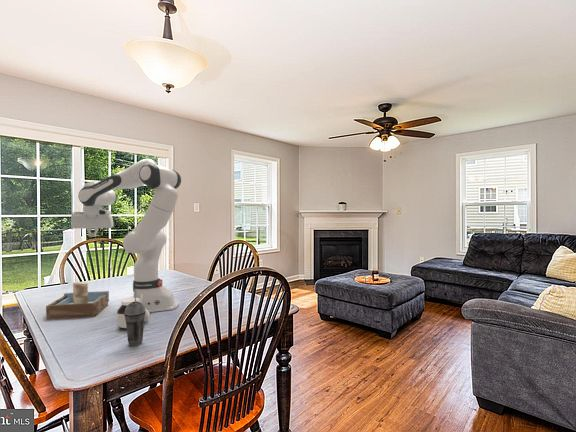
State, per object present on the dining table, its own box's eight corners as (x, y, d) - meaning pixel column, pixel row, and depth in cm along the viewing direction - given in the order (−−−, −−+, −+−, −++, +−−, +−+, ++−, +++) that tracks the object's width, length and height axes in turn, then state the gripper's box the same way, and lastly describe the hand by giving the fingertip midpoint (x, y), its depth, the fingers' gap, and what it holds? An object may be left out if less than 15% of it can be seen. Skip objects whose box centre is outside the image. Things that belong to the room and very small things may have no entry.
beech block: (85, 303, 158) (85, 281, 158) (87, 306, 155) (87, 283, 154) (73, 305, 155) (73, 283, 154) (75, 308, 151) (75, 285, 151)
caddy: (63, 307, 159) (63, 295, 159) (107, 305, 164) (107, 293, 164) (46, 319, 143) (46, 306, 143) (95, 316, 147) (95, 303, 147)
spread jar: (115, 332, 129) (115, 303, 129) (121, 322, 140) (121, 295, 139) (147, 328, 132) (147, 301, 132) (151, 319, 143) (150, 293, 143)
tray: (66, 302, 162) (66, 292, 162) (109, 300, 167) (109, 290, 167) (48, 314, 144) (47, 302, 144) (97, 311, 149) (97, 300, 149)
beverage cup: (122, 349, 113) (121, 293, 113) (126, 341, 120) (126, 288, 120) (144, 347, 115) (143, 292, 115) (147, 338, 122) (147, 287, 122)
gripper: (68, 211, 170) (69, 237, 170) (110, 211, 175) (111, 236, 175) (73, 211, 176) (74, 236, 177) (114, 211, 181) (114, 235, 181)
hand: (92, 236), depth 176 cm, fingers closed
